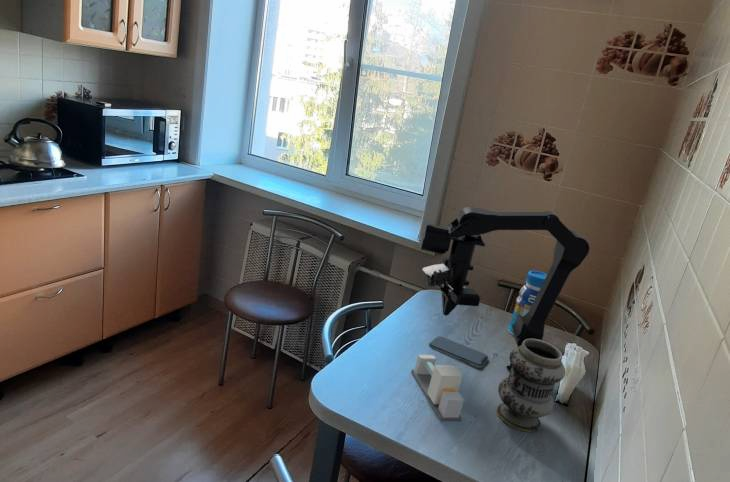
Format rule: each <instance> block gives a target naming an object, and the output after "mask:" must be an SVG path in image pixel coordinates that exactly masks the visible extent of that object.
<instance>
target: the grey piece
mask: <svg viewBox="0 0 730 482" xmlns="http://www.w3.org/2000/svg"><path fill="white" fill-rule="evenodd" d="M436 360H437V358H436V356H435V355H434V354H418V355H417V359H416V364H415V366H414V369H411V372H410V373H411V375H412V376H413V378H414V380H415V382H416V383H417V384H418V387H419V389H420V390H421V392H422V393H423V395H424V397H425V398H426V400H427V402H428V404H429V406H430V407H431V409H432V410H433V413H434V414H435V416H436V417H437V419H438V421H439V422H443V421H444V422H445V421H446V422H449V421H450V422H453V421H455V422H456V421H458V422H459V421H462V416H461V414H460V413H461V411H462V407H463V404H464V398H463V397H462V395H461V394H460V393H459V391H458V392H456V391H455V389H453V388H443V391H442V395H441V398H440V399H441V400H440V403H439V404H433V402H432V400H431V399H430V397H429V395H428V394H427V392H428V388H429V385H430V381H431V377H432V374H433V370H434V366H435V365H436Z"/></svg>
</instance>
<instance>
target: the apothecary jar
mask: <svg viewBox="0 0 730 482" xmlns="http://www.w3.org/2000/svg"><path fill="white" fill-rule="evenodd" d="M562 359H563V354H562V352H561V350H560V349H559V348H557V347H556V346H554V345H553V344H551V343H549V342H547V341H545V340H543V339H542V340H539V339H526V340H524V341H523V342H522V345H521V346H519V347H518V346H517V347H515V348H513V349H512V350H511V351H510V353H509V361H510V363H511V365H512V369H511V372H510V371H509V374H508V377H505V378H503V380H501V382H500V383H499V385H498V390H497V391H498V395H499V398H500V400H501V402H502V403H500V404H499V405H498V406H497V408H496V413H497V416H498V417H499V419H500V420H501V421H502V422H503V423H505V424H506V425H507V426H510V427H511V428H512V429H515V430H517V431H520V432H526V433H531V432H533V431H539V430H540V428H541V426H542V424H541V420H540V418H543V417H547V416H548V415H550V414H551V412H552V411H553V409H554V404H555V403H554V399H553V396H552V394H553V390H554V387H555V385H556V384H557V383H560V382H562V380H563V379H564V377H565V376H566V368H565V365H564V364H563V361H562Z"/></svg>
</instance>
